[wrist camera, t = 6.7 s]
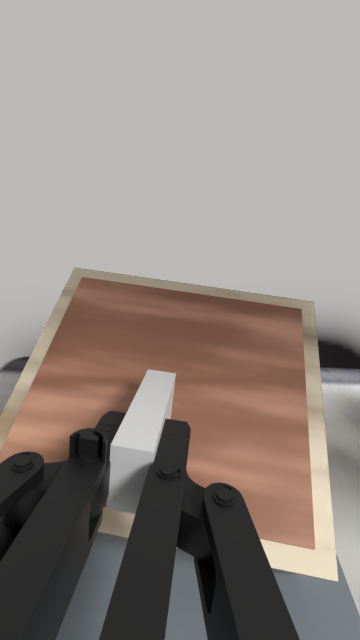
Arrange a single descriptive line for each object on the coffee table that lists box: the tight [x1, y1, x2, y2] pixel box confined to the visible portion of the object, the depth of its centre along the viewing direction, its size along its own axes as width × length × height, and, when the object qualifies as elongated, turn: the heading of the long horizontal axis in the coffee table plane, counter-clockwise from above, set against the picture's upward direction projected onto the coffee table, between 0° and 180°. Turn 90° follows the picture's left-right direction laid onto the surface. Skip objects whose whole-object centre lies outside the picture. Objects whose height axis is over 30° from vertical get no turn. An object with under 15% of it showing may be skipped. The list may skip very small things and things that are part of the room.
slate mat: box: [56, 533, 360, 640], centre depth 26 cm, size 28×24×1 cm
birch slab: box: [0, 268, 338, 581], centre depth 22 cm, size 6×18×16 cm
